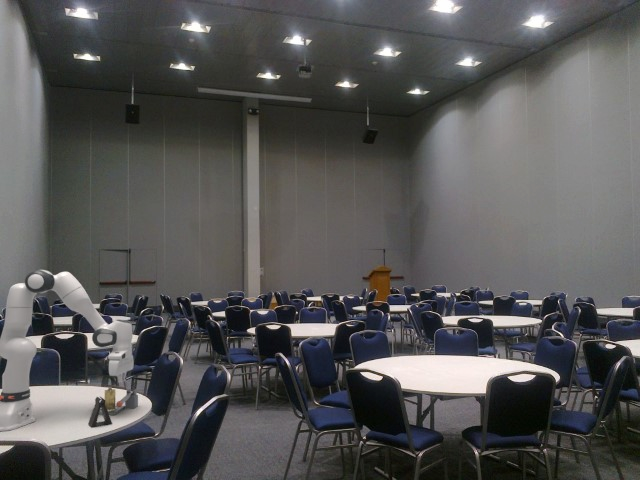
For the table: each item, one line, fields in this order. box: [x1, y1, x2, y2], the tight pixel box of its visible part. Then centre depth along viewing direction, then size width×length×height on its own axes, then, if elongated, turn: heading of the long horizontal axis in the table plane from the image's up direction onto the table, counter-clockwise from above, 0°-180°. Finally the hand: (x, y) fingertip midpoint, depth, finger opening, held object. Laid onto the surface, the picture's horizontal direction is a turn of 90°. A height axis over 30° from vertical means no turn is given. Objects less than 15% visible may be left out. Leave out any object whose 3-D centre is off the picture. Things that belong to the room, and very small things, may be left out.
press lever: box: [115, 390, 134, 407], centre depth 276 cm, size 17×3×3 cm, turn 176°
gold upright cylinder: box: [104, 386, 116, 410], centre depth 276 cm, size 5×5×10 cm
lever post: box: [124, 389, 139, 410], centre depth 283 cm, size 4×5×9 cm
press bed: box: [98, 405, 126, 416], centre depth 275 cm, size 12×10×1 cm
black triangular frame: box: [88, 396, 113, 429], centre depth 254 cm, size 9×6×12 cm, turn 125°
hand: (121, 382), depth 272 cm, fingers closed
